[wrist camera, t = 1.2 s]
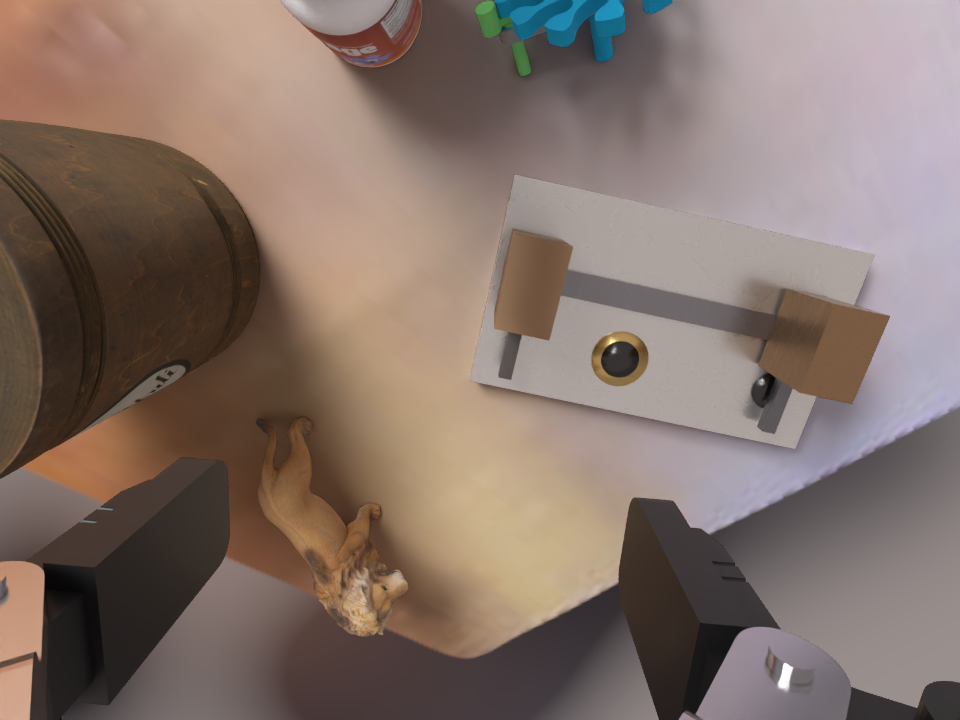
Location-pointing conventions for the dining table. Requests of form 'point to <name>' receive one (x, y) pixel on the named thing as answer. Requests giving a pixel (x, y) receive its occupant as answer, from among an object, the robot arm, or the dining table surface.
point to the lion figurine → (328, 539)
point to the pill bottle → (361, 27)
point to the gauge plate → (686, 317)
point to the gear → (556, 23)
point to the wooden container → (108, 278)
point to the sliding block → (529, 291)
